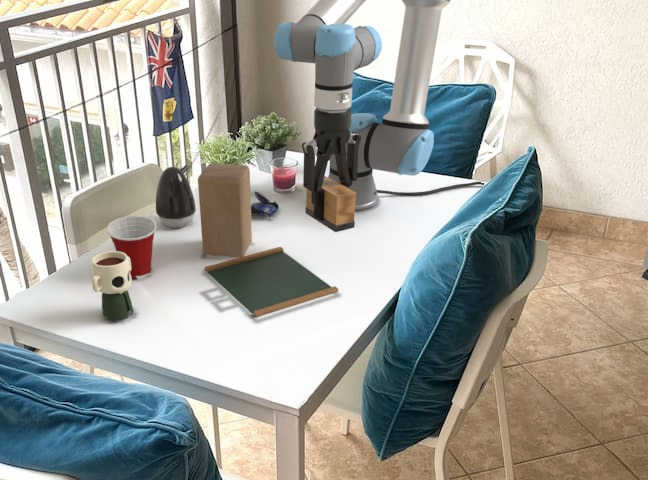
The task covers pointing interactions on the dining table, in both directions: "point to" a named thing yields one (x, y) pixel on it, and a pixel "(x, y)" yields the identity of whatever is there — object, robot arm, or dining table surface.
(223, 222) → the block
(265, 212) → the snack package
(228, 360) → the dining table surface
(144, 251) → the plastic cup
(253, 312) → the chalkboard
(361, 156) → the robot arm
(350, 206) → the eraser
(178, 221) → the black egg-shaped piece
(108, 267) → the character mug
